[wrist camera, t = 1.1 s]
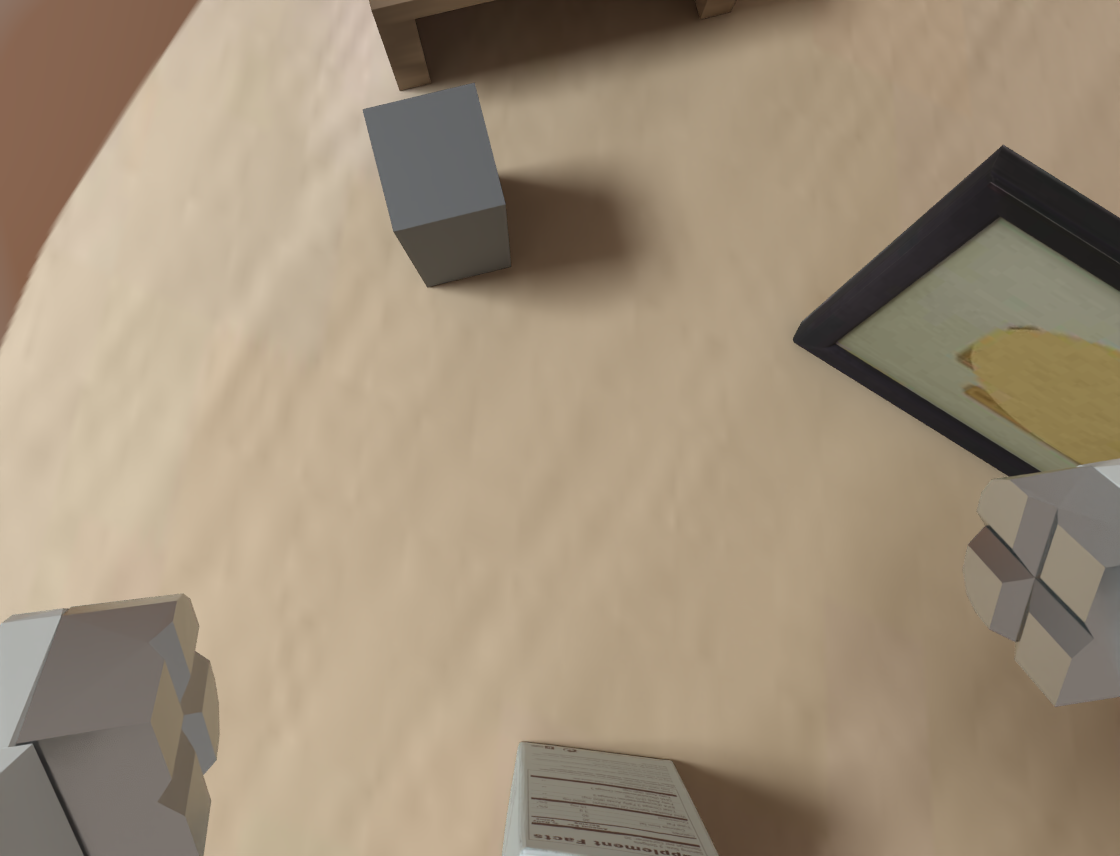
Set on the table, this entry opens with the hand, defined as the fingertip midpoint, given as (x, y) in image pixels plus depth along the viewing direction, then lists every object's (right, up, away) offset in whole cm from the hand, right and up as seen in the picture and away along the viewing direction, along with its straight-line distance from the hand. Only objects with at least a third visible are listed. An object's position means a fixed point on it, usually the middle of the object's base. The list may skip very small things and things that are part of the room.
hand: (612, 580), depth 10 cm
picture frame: (+22, +3, +35) cm, 42 cm away
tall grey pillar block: (-5, +11, +34) cm, 36 cm away
